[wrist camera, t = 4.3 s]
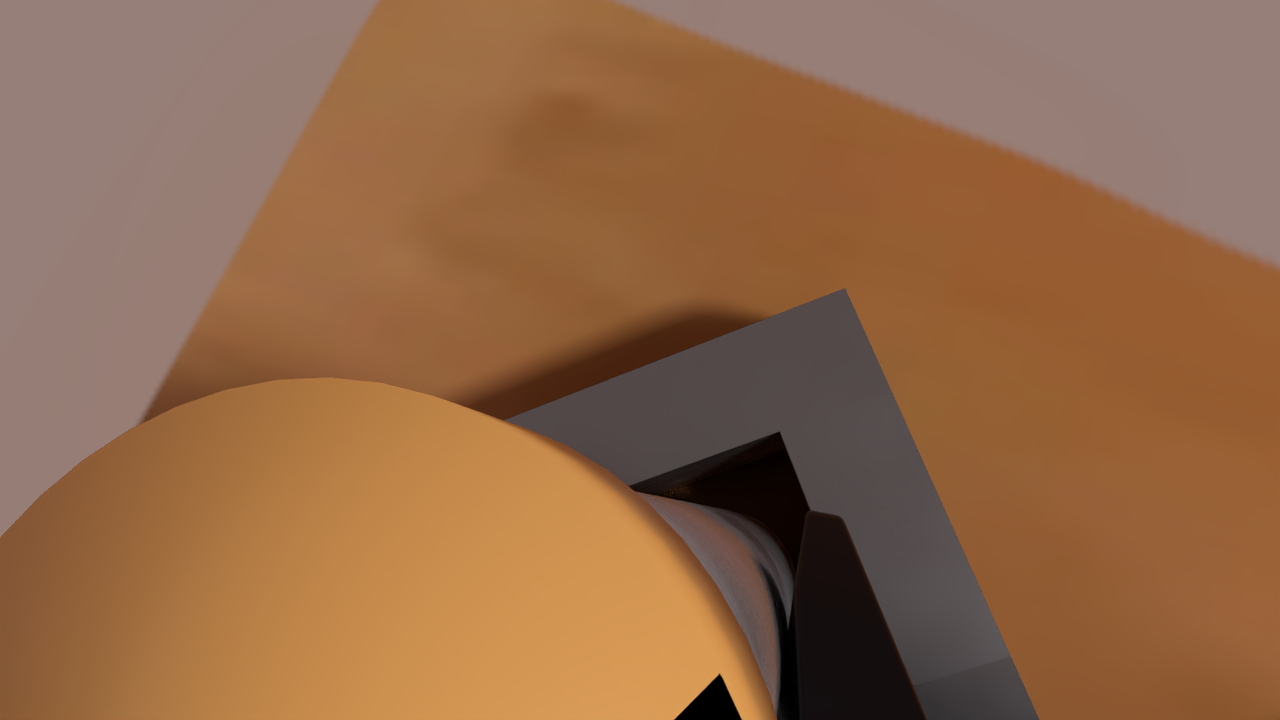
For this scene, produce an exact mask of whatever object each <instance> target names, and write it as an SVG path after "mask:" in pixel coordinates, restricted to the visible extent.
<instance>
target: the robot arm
mask: <svg viewBox="0 0 1280 720" xmlns="http://www.w3.org/2000/svg"><path fill="white" fill-rule="evenodd" d="M777 720H927V718H926V715H925V713H924V710H923V708H922V706H921V703H920V701H919V698H918V696H917V694H916V691H915V689H914V686H913V684H912V682H911V679H910V677H909V674H908V672H907V670H906V667H905V665H904V662H903V660H902V658H901V655H900V653H899V650H898V648H897V646H896V643H895V641H894V638H893V636H892V634H891V631H890V629H889V626H888V624H887V622H886V619H885V617H884V614H883V612H882V610H881V607H880V605H879V603H878V600H877V598H876V595H875V593H874V591H873V588H872V586H871V583H870V581H869V579H868V576H867V574H866V571H865V569H864V567H863V564H862V562H861V559H860V557H859V555H858V552H857V550H856V547H855V545H854V543H853V540H852V538H851V535H850V533H849V531H848V528H847V526H846V524H845V522H844V520H843V518H841V517H840V516H838V515H833V514H828V513H823V512H818V511H808V512H807V513H806V516H805V522H804V528H803V534H802V540H801V546H800V553H799V559H798V565H797V571H796V577H795V584H794V591H793V598H792V605H791V612H790V619H789V626H788V633H787V640H786V656H785V668H784V677H783V684H782V690H781V696H780V702H779V708H778V719H777Z"/></svg>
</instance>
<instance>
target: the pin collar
mask: <svg viewBox="0 0 1280 720" xmlns="http://www.w3.org/2000/svg"><path fill="white" fill-rule="evenodd" d="M504 421H507V422H510V423H513V424H516V425H519V426H521V427H524V428H527V429H529V430H531V431H534V432H536V433H539V434H541V435H543V436H546V437H548V438H550V439H553V440H555V441H558V442H560V443H562V444H565V445H567V446H569V447H570V448H572V449H574V450H575V451H577V452H579V453H580V454H582V455H584V456H585V457H587V458H589V459H590V460H592V461H594V462H595V463H597V464H599V465H600V466H602V467H604V468H605V469H607V470H608V471H610V472H611V473H612V474H613V475H615V476H616V477H617V478H618V479H620V480H621V481H622V482H623V483H625V484H626V485H627V486H628V487H630V488H631V489H632V490H633V491H635V492H640V493H645V494H650V495H655V496H656V495H659V494H662V493H664V492H667V491H670V490H673V489H675V488H678V487H681V486H684V485H687V484H689V483H692V482H695V481H698V480H701V479H703V478H706V477H709V476H712V475H715V474H717V473H720V472H723V471H726V470H729V469H731V468H734V467H737V466H740V465H743V464H745V463H748V462H751V461H754V460H756V459H759V458H762V457H765V456H768V455H770V454H773V453H776V452H779V451H782V450H784V449H785V450H786V452H787V455H788V457H789V460H790V462H791V465H792V468H793V470H794V473H795V475H796V478H797V480H798V483H799V485H800V488H801V491H802V493H803V496H804V498H805V501H806V503H807V506H808V508H809V511H818V512H823V513H828V514H833V515H838V516H840V517H841V518H843V520H844V522H845V524H846V526H847V528H848V531H849V533H850V535H851V538H852V540H853V543H854V545H855V547H856V550H857V552H858V555H859V557H860V559H861V562H862V564H863V567H864V569H865V571H866V574H867V576H868V579H869V581H870V583H871V586H872V588H873V591H874V593H875V595H876V598H877V600H878V603H879V605H880V607H881V610H882V612H883V614H884V617H885V619H886V622H887V624H888V626H889V629H890V631H891V634H892V636H893V638H894V641H895V643H896V646H897V648H898V650H899V653H900V655H901V658H902V660H903V662H904V665H905V667H906V670H907V672H908V674H909V677H910V679H911V682H912V684H913V686H914V689H915V691H916V694H917V696H918V698H919V701H920V703H921V706H922V708H923V710H924V713H925V715H926V718H927V720H1039V718H1038V716H1037V714H1036V712H1035V709H1034V707H1033V705H1032V703H1031V700H1030V698H1029V696H1028V694H1027V692H1026V689H1025V687H1024V685H1023V683H1022V680H1021V678H1020V676H1019V674H1018V672H1017V669H1016V667H1015V665H1014V663H1013V660H1012V658H1011V656H1010V654H1009V652H1008V649H1007V647H1006V645H1005V643H1004V640H1003V638H1002V636H1001V634H1000V631H999V629H998V627H997V625H996V623H995V620H994V618H993V616H992V614H991V611H990V609H989V607H988V605H987V603H986V600H985V598H984V596H983V594H982V591H981V589H980V587H979V585H978V583H977V580H976V578H975V576H974V574H973V571H972V569H971V567H970V565H969V563H968V560H967V558H966V556H965V554H964V551H963V549H962V547H961V545H960V543H959V540H958V538H957V536H956V534H955V531H954V529H953V527H952V525H951V523H950V520H949V518H948V516H947V514H946V511H945V509H944V507H943V505H942V503H941V500H940V498H939V496H938V494H937V491H936V489H935V487H934V485H933V483H932V480H931V478H930V476H929V474H928V471H927V469H926V467H925V465H924V463H923V460H922V458H921V456H920V454H919V451H918V449H917V447H916V445H915V443H914V440H913V438H912V436H911V434H910V431H909V429H908V427H907V425H906V423H905V420H904V418H903V416H902V414H901V411H900V409H899V407H898V405H897V403H896V400H895V398H894V396H893V394H892V391H891V389H890V387H889V385H888V383H887V380H886V378H885V376H884V374H883V371H882V369H881V367H880V365H879V363H878V360H877V358H876V356H875V354H874V351H873V349H872V347H871V345H870V343H869V340H868V338H867V336H866V334H865V331H864V329H863V327H862V325H861V323H860V320H859V318H858V316H857V314H856V311H855V309H854V307H853V305H852V303H851V300H850V298H849V296H848V294H847V291H846V289H845V288H844V289H842V290H839V291H837V292H834V293H831V294H829V295H826V296H824V297H821V298H818V299H816V300H813V301H811V302H808V303H805V304H803V305H800V306H798V307H795V308H793V309H790V310H787V311H785V312H782V313H780V314H777V315H774V316H772V317H769V318H767V319H764V320H762V321H759V322H756V323H754V324H751V325H749V326H746V327H743V328H741V329H738V330H736V331H733V332H731V333H728V334H725V335H723V336H720V337H718V338H715V339H712V340H710V341H707V342H705V343H702V344H700V345H697V346H694V347H692V348H689V349H687V350H684V351H681V352H679V353H676V354H674V355H671V356H668V357H666V358H663V359H661V360H658V361H656V362H653V363H650V364H648V365H645V366H643V367H640V368H637V369H635V370H632V371H630V372H627V373H625V374H622V375H619V376H617V377H614V378H612V379H609V380H606V381H604V382H601V383H599V384H596V385H594V386H591V387H588V388H586V389H583V390H581V391H578V392H575V393H573V394H570V395H568V396H565V397H562V398H560V399H557V400H555V401H552V402H550V403H547V404H544V405H542V406H539V407H537V408H534V409H531V410H529V411H526V412H524V413H521V414H519V415H516V416H513V417H511V418H508V419H506V420H504ZM777 719H778V714H777Z"/></svg>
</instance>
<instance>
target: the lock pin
mask: <svg viewBox="0 0 1280 720" xmlns="http://www.w3.org/2000/svg"><path fill="white" fill-rule="evenodd" d="M795 577H796V573H795V569H794V565H793V562H792V559H791V557H790V555H789V553H788V551H787V549H786V547H785V546H784V544H783V543H782V541H781V540H780V539H779V537H778V536H777V535H776V534H775V533H774V532H773V531H772V530H771V529H770V528H769V527H767V526H766V525H765V524H763V523H762V522H760V521H759V520H757V519H755V518H753V517H751V516H748V515H746V514H743V513H739V512H735V511H730V510H725V509H720V508H715V507H710V506H705V505H700V504H695V503H690V502H685V501H680V500H675V499H670V498H665V497H660V496H655V495H650V494H645V493H640V492H635V491H633V490H632V489H631V488H630V487H628V486H627V485H626V484H625V483H623V482H622V481H621V480H620V479H618V478H617V477H616V476H615V475H613V474H612V473H611V472H610V471H608V470H607V469H605V468H604V467H602V466H600V465H599V464H597V463H595V462H594V461H592V460H590V459H589V458H587V457H585V456H584V455H582V454H580V453H579V452H577V451H575V450H574V449H572V448H570V447H569V446H567V445H565V444H562V443H560V442H558V441H555V440H553V439H550V438H548V437H546V436H543V435H541V434H539V433H536V432H534V431H531V430H529V429H527V428H524V427H521V426H519V425H516V424H513V423H510V422H507V421H504V420H501V419H498V418H495V417H493V416H490V415H487V414H484V413H481V412H478V411H475V410H472V409H470V408H467V407H464V406H461V405H458V404H455V403H452V402H449V401H446V400H444V399H441V398H438V397H435V396H431V395H427V394H423V393H419V392H415V391H412V390H408V389H404V388H400V387H396V386H392V385H388V384H384V383H379V382H369V381H359V380H349V379H339V378H329V377H327V378H306V379H286V380H273V381H268V382H263V383H258V384H253V385H248V386H243V387H237V388H232V389H227V390H223V391H220V392H217V393H215V394H212V395H209V396H206V397H203V398H200V399H197V400H194V401H191V402H188V403H185V404H183V405H180V406H177V407H174V408H172V409H170V410H168V411H166V412H164V413H162V414H160V415H158V416H156V417H154V418H152V419H150V420H148V421H146V422H144V423H142V424H140V425H138V426H136V427H134V428H132V429H130V430H128V431H127V432H125V433H124V434H122V435H121V436H119V437H117V438H116V439H114V440H113V441H111V442H110V443H108V444H107V445H105V446H104V447H103V448H101V449H99V450H98V451H96V452H95V453H93V454H92V455H90V456H89V457H87V458H86V459H84V460H83V461H82V462H80V463H79V464H78V465H77V466H76V467H74V468H73V469H72V470H71V471H70V472H68V473H67V474H66V475H65V476H64V477H62V478H61V479H60V480H59V481H58V482H57V483H56V484H54V485H53V486H52V487H51V488H49V489H48V490H47V491H46V492H45V493H43V494H42V495H41V496H40V497H39V498H38V499H37V500H36V501H35V502H34V503H33V504H32V505H31V506H30V507H29V509H27V510H26V511H25V513H24V514H23V515H22V516H21V517H20V518H19V519H18V520H17V521H16V522H15V523H14V524H13V525H12V526H11V527H10V528H9V529H8V530H7V531H6V532H5V533H4V534H3V535H2V536H1V538H0V720H777V714H778V708H779V702H780V696H781V690H782V684H783V677H784V668H785V656H786V640H787V633H788V626H789V619H790V612H791V605H792V598H793V591H794V584H795Z"/></svg>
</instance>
